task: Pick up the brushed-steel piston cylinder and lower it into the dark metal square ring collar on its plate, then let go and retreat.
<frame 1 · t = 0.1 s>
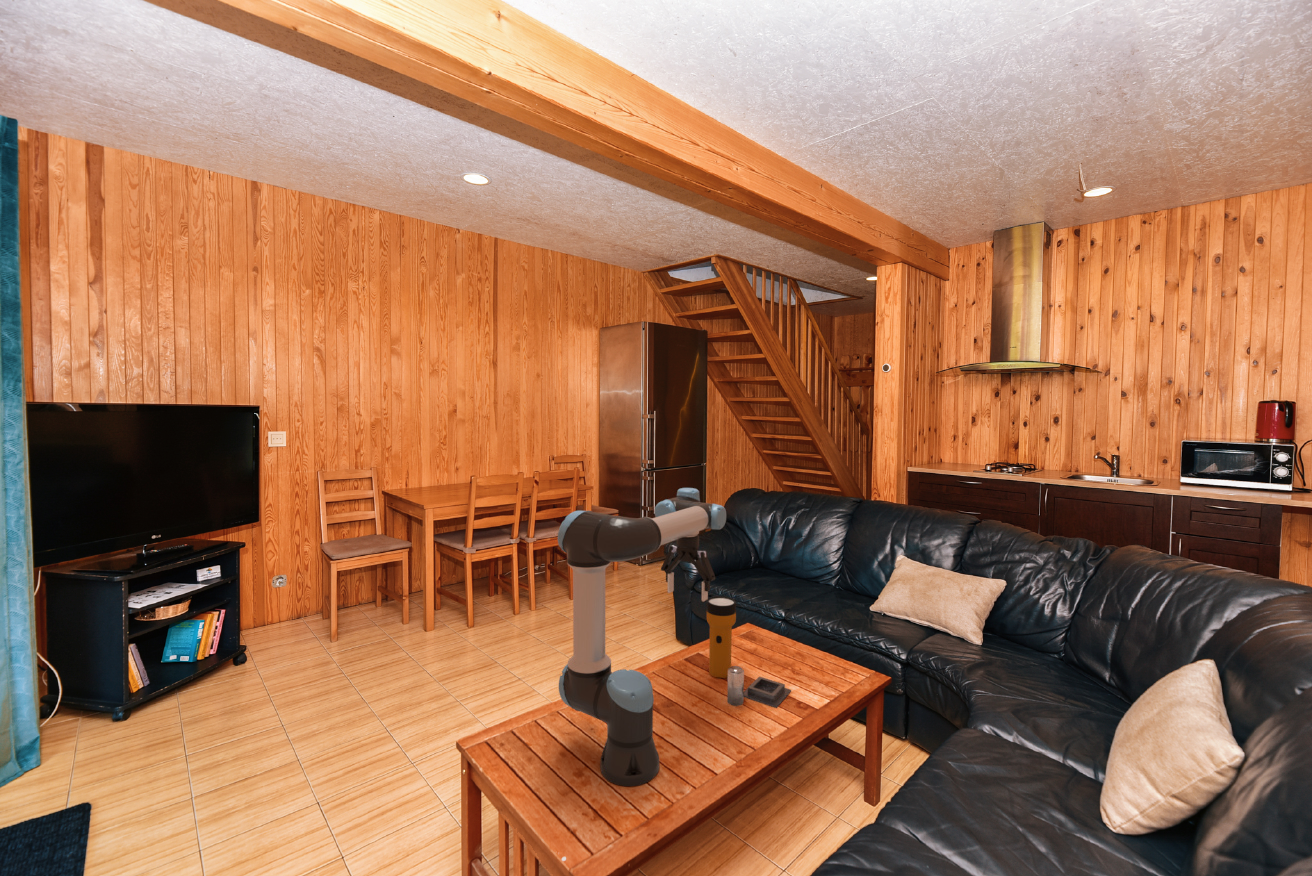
hand: (687, 596, 191), 28 cm above the table, fingers open, 13 cm apart
piston: (735, 701, 176), on the table
flashlight: (720, 673, 195), on the table
collar: (766, 693, 181), on the table
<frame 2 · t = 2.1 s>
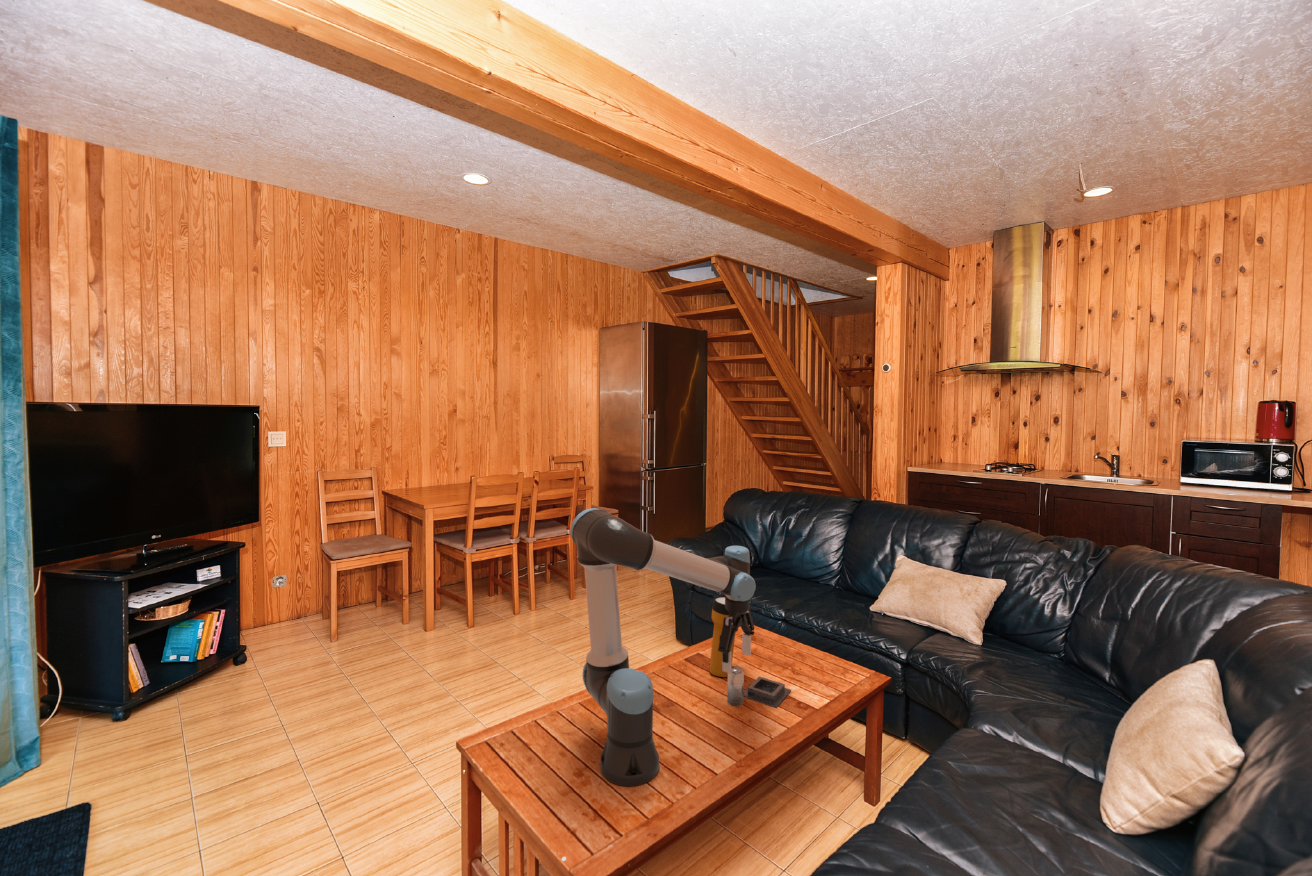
hand: (736, 663, 176), 12 cm above the table, fingers open, 13 cm apart
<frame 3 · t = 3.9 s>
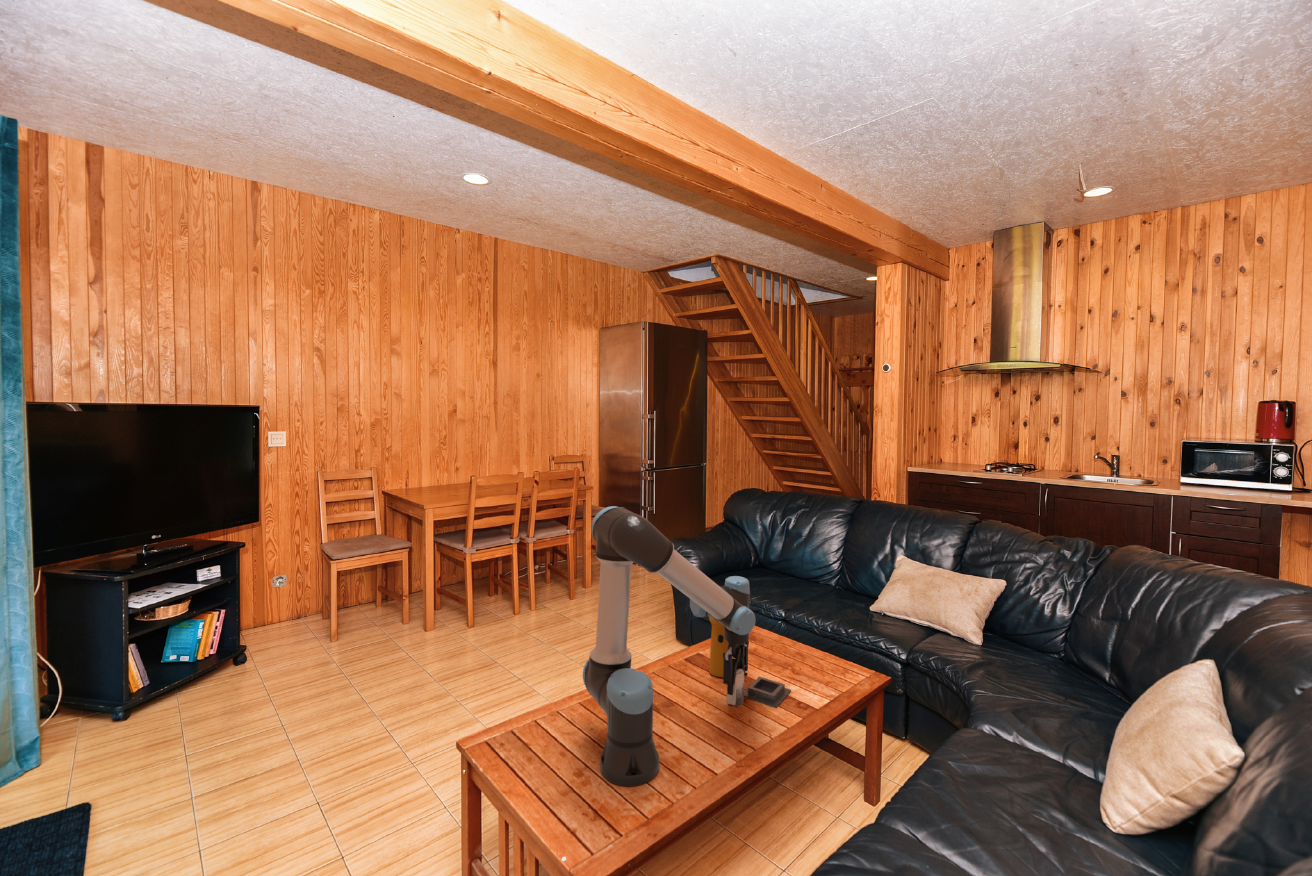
hand: (735, 699, 176), 1 cm above the table, fingers closed on piston, 5 cm apart
piston: (735, 701, 176), on the table, touching gripper
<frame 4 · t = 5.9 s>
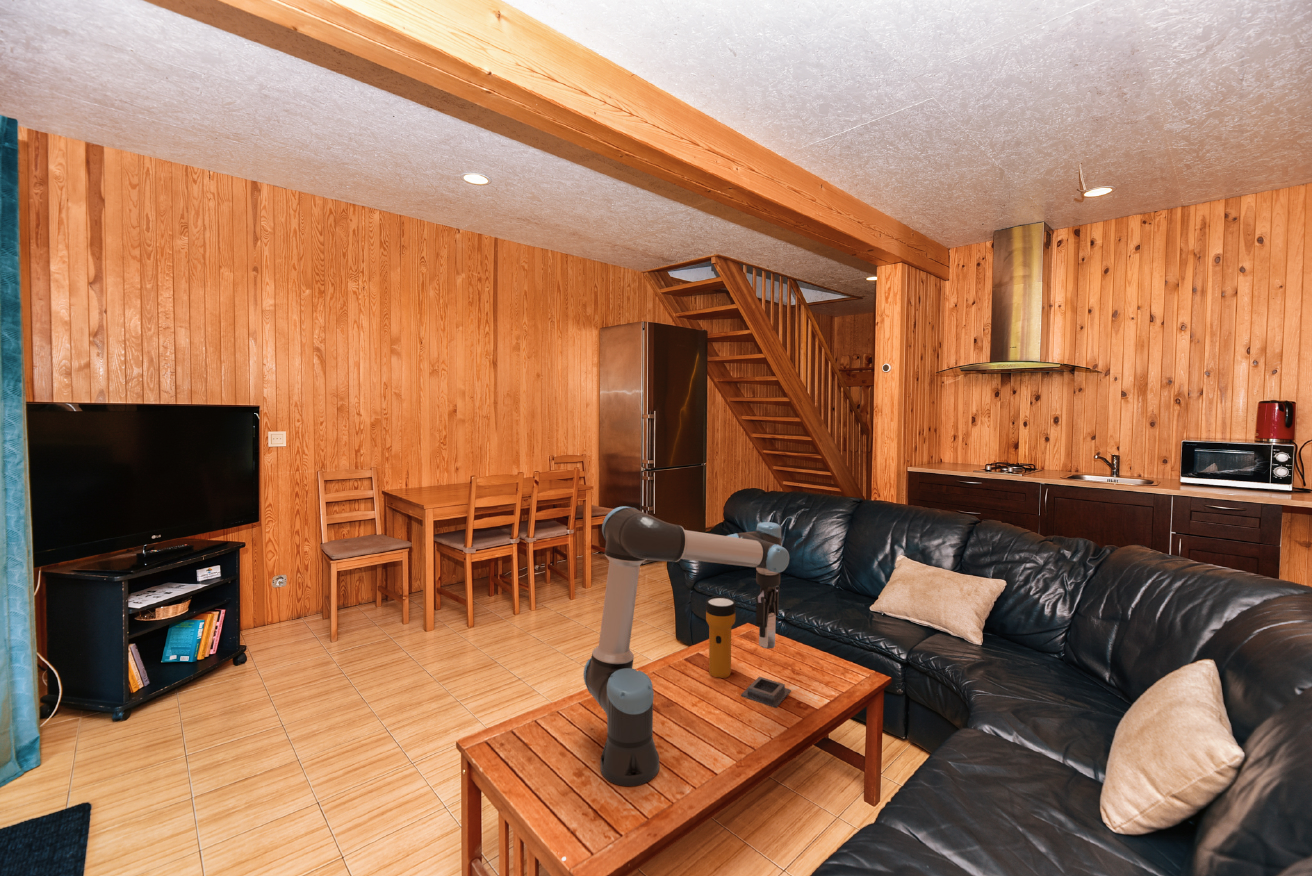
hand: (767, 642, 180), 17 cm above the table, fingers closed on piston, 5 cm apart
piston: (767, 645, 180), point 16 cm above the table, touching gripper
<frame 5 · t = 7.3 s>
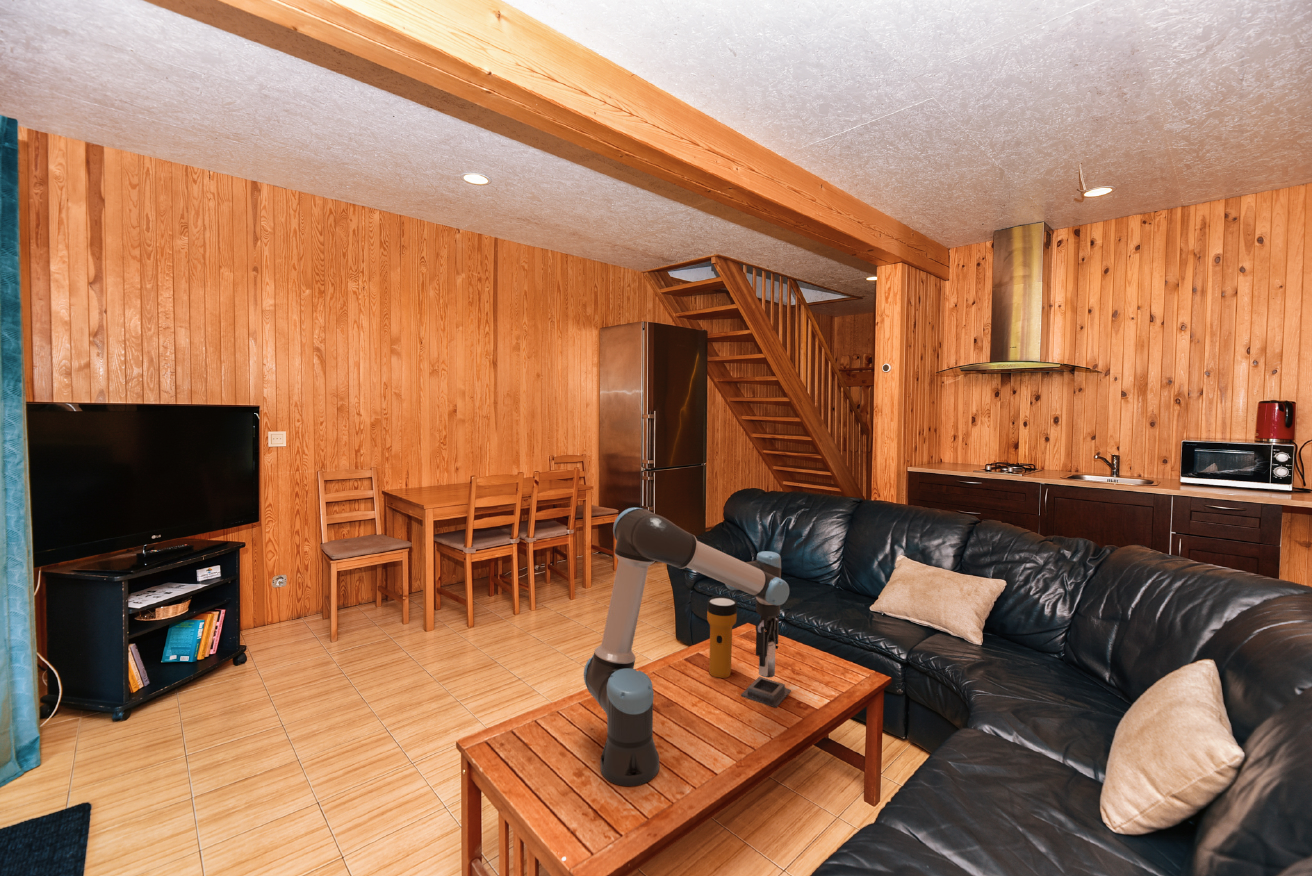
hand: (766, 671, 181), 7 cm above the table, fingers closed on piston, 5 cm apart
piston: (766, 673, 181), point 7 cm above the table, touching gripper
everything else where it was.
when the fingers open (4 cm above the table, at t = 8.3 s): piston drops 2 cm, resting on collar.
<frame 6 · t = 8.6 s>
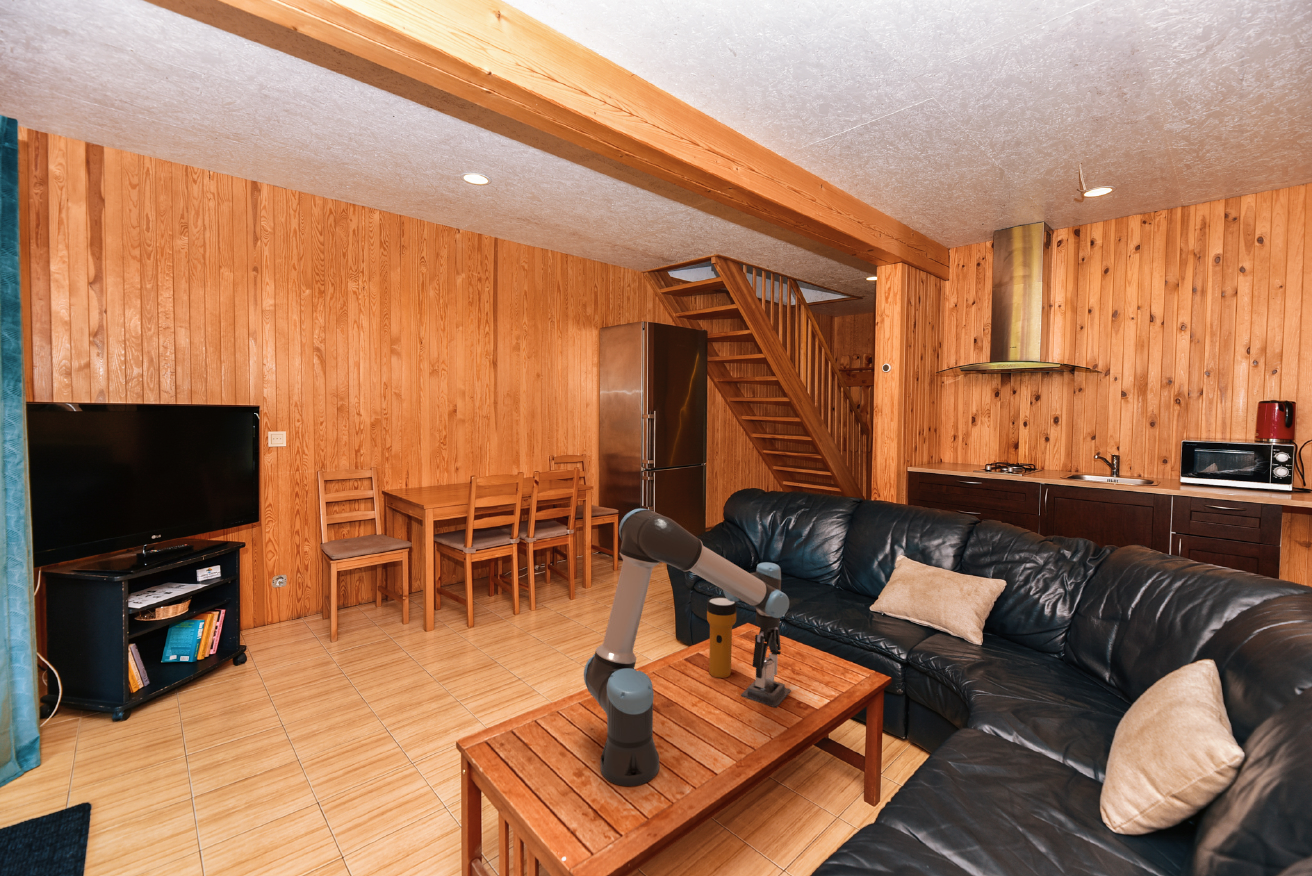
hand: (766, 680, 181), 5 cm above the table, fingers open, 9 cm apart
piston: (765, 692, 181), point 1 cm above the table, touching collar
everything else where it was.
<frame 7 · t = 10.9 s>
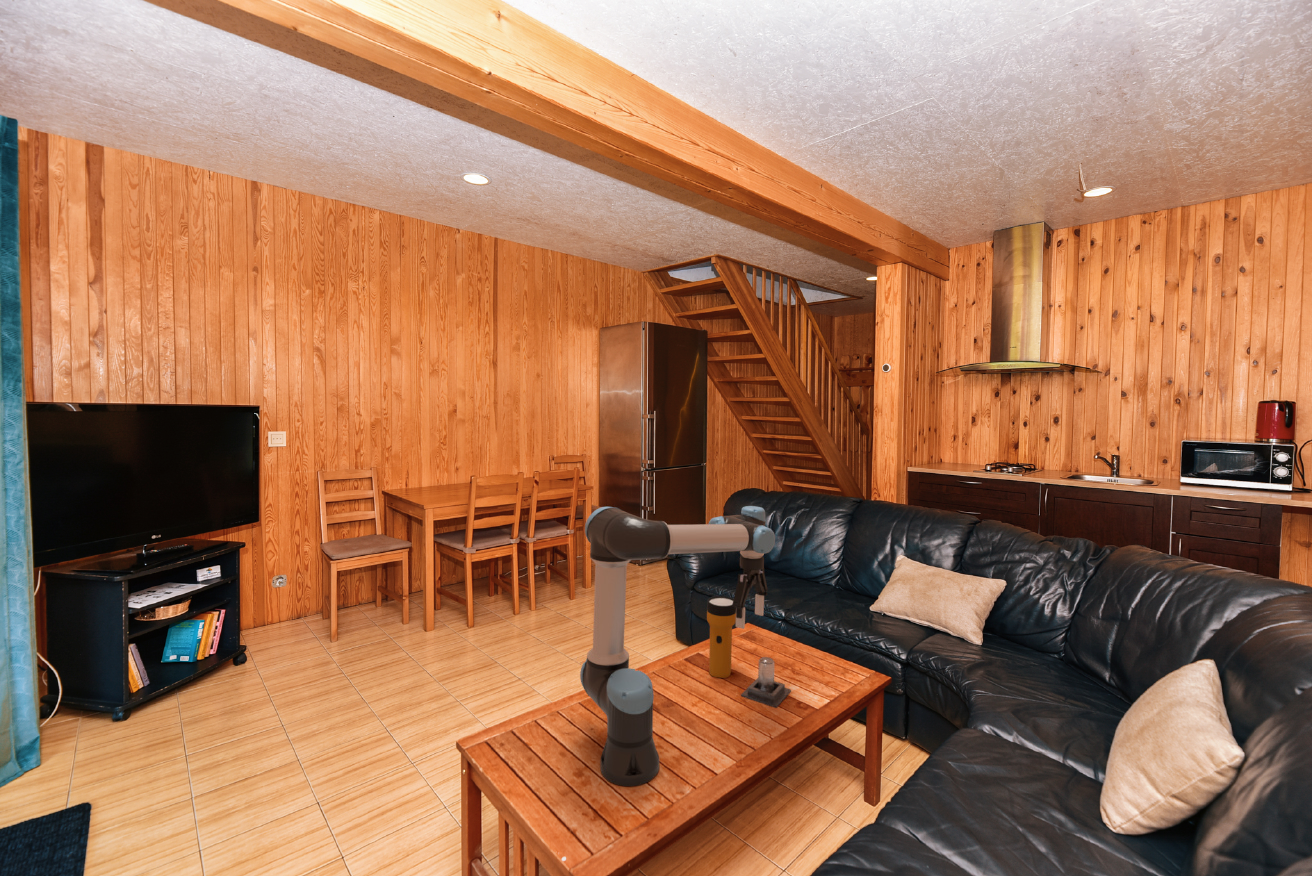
hand: (749, 621, 180), 24 cm above the table, fingers open, 13 cm apart
nothing on the table moved.
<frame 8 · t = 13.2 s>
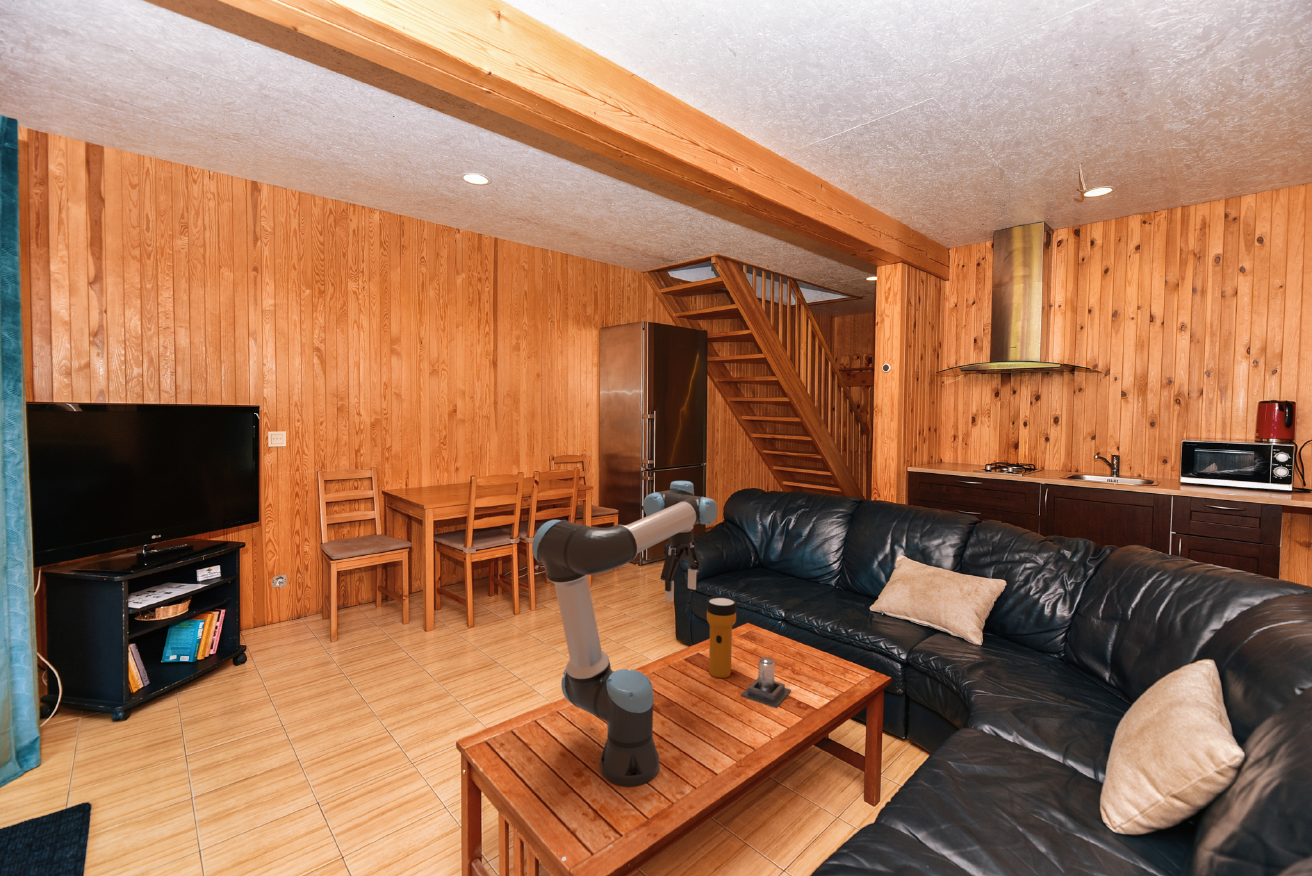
hand: (680, 594, 181), 32 cm above the table, fingers open, 13 cm apart
nothing on the table moved.
at the end: piston 0.2 cm off-centre on the collar, point 0.7 cm above the collar's base; piston tilted 1°; the gripper is holding nothing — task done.
